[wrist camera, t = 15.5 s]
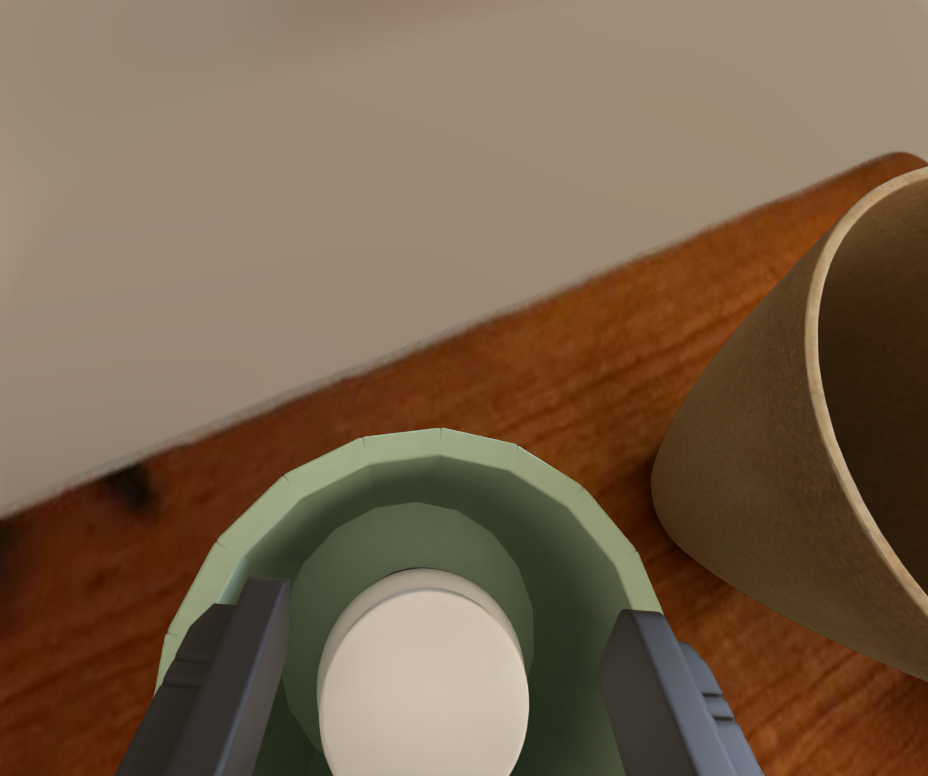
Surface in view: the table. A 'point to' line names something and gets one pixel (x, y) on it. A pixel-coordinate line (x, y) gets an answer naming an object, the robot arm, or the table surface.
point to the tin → (441, 547)
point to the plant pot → (821, 439)
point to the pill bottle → (422, 681)
